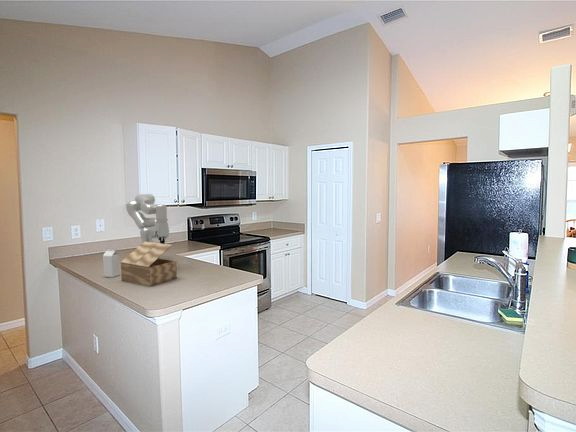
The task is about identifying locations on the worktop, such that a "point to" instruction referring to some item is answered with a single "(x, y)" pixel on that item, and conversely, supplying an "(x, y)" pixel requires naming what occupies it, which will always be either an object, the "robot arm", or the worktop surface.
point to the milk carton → (111, 263)
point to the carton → (149, 272)
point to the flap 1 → (139, 253)
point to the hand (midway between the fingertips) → (162, 245)
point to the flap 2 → (153, 255)
